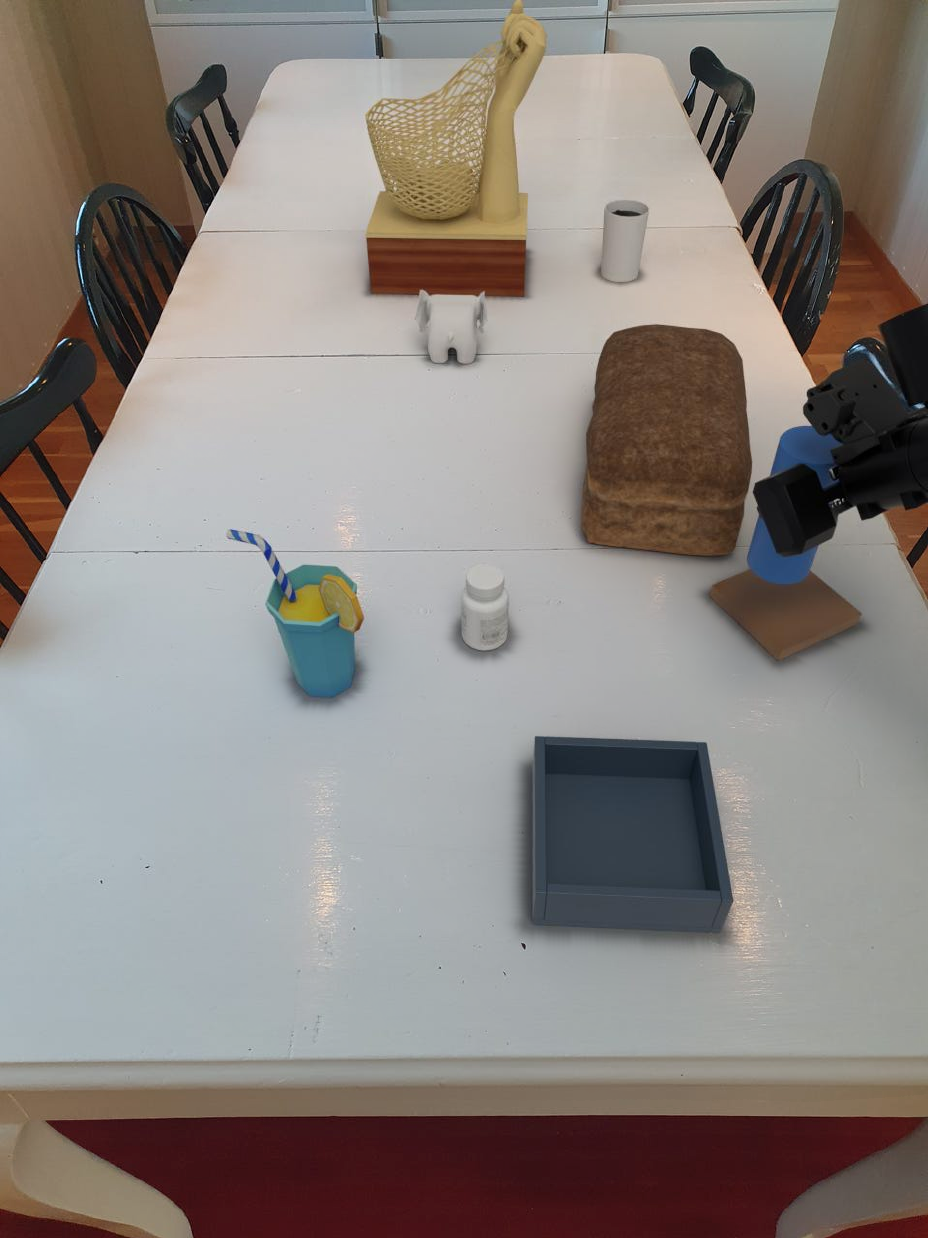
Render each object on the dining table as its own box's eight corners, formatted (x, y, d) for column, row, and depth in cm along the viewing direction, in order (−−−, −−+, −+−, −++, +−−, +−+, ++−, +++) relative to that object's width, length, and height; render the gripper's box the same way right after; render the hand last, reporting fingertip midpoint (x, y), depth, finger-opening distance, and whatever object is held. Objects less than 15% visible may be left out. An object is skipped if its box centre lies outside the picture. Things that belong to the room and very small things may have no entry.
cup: (231, 674, 84) (195, 551, 73) (281, 621, 88) (255, 498, 78) (359, 731, 79) (340, 608, 68) (404, 671, 84) (394, 548, 73)
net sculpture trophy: (536, 250, 148) (548, -7, 123) (535, 301, 135) (548, 27, 110) (384, 247, 149) (365, -7, 124) (369, 298, 136) (345, 26, 111)
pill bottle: (515, 629, 87) (518, 570, 82) (492, 658, 85) (493, 598, 79) (477, 612, 89) (477, 553, 83) (452, 640, 86) (451, 581, 81)
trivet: (857, 624, 87) (862, 613, 86) (777, 661, 84) (781, 650, 83) (786, 563, 94) (789, 552, 92) (709, 595, 90) (711, 584, 89)
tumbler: (800, 592, 80) (841, 472, 71) (738, 571, 82) (771, 451, 73) (817, 556, 84) (858, 436, 74) (757, 536, 86) (791, 418, 76)
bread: (729, 409, 114) (751, 310, 105) (737, 569, 93) (767, 463, 84) (593, 397, 116) (603, 299, 107) (572, 552, 95) (582, 446, 86)
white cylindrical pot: (599, 283, 139) (606, 216, 132) (596, 264, 144) (602, 199, 137) (643, 283, 139) (652, 216, 132) (638, 264, 144) (647, 199, 136)
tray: (696, 777, 75) (706, 741, 72) (720, 933, 66) (733, 901, 62) (532, 770, 76) (534, 735, 72) (532, 925, 66) (535, 893, 63)
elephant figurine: (490, 330, 129) (491, 269, 123) (486, 374, 120) (486, 310, 114) (423, 328, 129) (420, 268, 123) (415, 372, 121) (411, 309, 115)
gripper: (979, 316, 68) (824, 383, 82) (804, 389, 61) (669, 448, 75) (1030, 454, 69) (868, 497, 83) (863, 543, 62) (718, 572, 76)
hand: (784, 500), depth 79 cm, fingers closed on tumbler, 5 cm apart
